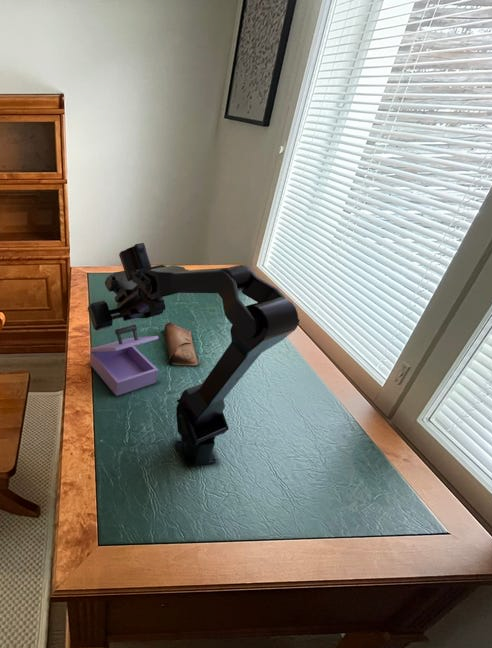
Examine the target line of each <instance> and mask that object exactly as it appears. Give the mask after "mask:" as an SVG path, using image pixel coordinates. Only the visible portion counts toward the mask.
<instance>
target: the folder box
mask: <svg viewBox="0 0 492 648" xmlns="http://www.w3.org/2000/svg"><path fill="white" fill-rule="evenodd" d="M89 365H90V366H91V367H92V368H93V370H94V371H95V372H96V374H97V375H98V376H99V377H100V378H101V379H102V381H103V382H104V383H105V385H106V386H107V387H108V388H109V389H110V390H111V392H112V393H113V394H114V395H115V396H116V397H117V396H121V395H124V394H127V393H129V392H132V391H136V390H138V389H142V388H144V387H147V386H151V385H153V384H156V383H157V382H158V375H159V369H158V367H156V366H155V365H154V363H152V362H151V361H150V360H149V359H148V358H147V357H146V356H145V355H144V354H143V353H142V352H140V350H138V349H137V347H135V346H132V347H128V348H125V349H121V350H117V351H92V352H91V351H89Z"/></svg>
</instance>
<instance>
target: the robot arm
mask: <svg viewBox="0 0 492 648" xmlns="http://www.w3.org/2000/svg"><path fill="white" fill-rule="evenodd" d="M118 257H119V260H120V262H121V265H122V268H123V270H121V271H115V272H113V273H112V274H109V276H107V277H106V279H105V281H104V286H105V288H106V289H107V291H108V292H109V293H111V292H113V293H114V294H115V296H114V297H113V298H114V302H115V303H117V306H116V308H112V309H110V307H109V305H108V302H106V300H99V301H95V302H91V303H90V304H89V305H87V312H88V315H89V318H90V321H91V324H92V328H93V330H95V331H101V330H105V329H109V328H111V327H113V324H114V323H113V321H114V320H118V319H123V322H126V321H131V320H134V319H148V318H153V317H156V316H161V314H163V313H164V311H165V310H166V306H167V305H166V302H165V301H166V300H165V299H164V298H165V297H169V296H173V295H177V294H218V295H219V297H220V298H221V300H222V307H223V313H224V316H225V318H226V319H227V320H228V321H229V323H231V327H230V330H229V331H230V338H231V342H230V343H229V345H228V346H227V347H226V349H225V351H224V352H223V354H222V355H221V356H220V358H219V359H218V361H217V362H216V364H215V365H214V367H213V368H212V370H210V372H209V374H208V375H207V377H206V378H205V379H204V381H202V383H200V384H197V385H194V386H191V387H189V388H186V389H184V390H183V392H181V395H180V398H179V399H177V400H176V402H177V405H176V410H175V411H176V414H175V415H176V427H177V428H176V429H177V433H178V434H179V435H180V440H177V441H176V447H177V449H178V450H179V453H180V456H181V457H182V459H183V462H184V464H185V466H186V467H188V468H189V467H196V466H202V465H211V464H216V462H217V459H216V457H215V455H214V453H213V451H214V447H215V444H216V442H215V440H216V437H219V436H220V435H224V434H225V433H227V432H228V431H229V425H228V422H227V419H226V416H225V414H224V410H225V407H226V404H225V398H226V397H227V396H228V395H229V394H230V392H231V391H232V390H233V389H234V387H235V386H236V385H237V384H238V382H239V381H240V380H241V379H242V378H243V376H244V375H245V374H246V373H247V372H248V370H249V369H250V368H251V367H252V365H253V364H254V363H255V362H256V361H257V359H259V357H260V355H261V354H263V353H264V352H266V351H268V350H269V349H270V348H272V347H274V346H276V345H277V344H279V343H281V342H282V341H283V340H284V339H286V338H287V337H288V336H290V335H291V334H292V333H293V332H295V331H296V330H297V328H298V327H299V324H300V318H299V313H298V310H297V308H296V306H295V304H294V303H293V301H291V300H289V299H288V298H286V296H284V294H283V293H282V292H281V291H280V289H279V288H278V287H276V286H274V285H273V284H270V283H269V282H267V281H265V280H263V279H262V278H260V277H258V276H257V275H256V274H255V273H254V271H252V269H251V268H249V267H248V266H246V265H243V264H238V265H233V266H229V267H218V268H217V267H216V268H202V269H186V268H185V267H184V266H179V265H175V264H171V265H165V264H158V265H153V266H152V264H151V261H150V258H149V256H148V253H147V248H146V245H145V243H144V242H139V243H135V244H134V245H133V246H131V247H128V248H125V249H124V250H121V251H120V252H119V253H118ZM239 292H241V293H242V294H243V295H244V296H245V297H248V298H249V299H251V300H253V301H254V303H252V304H247V305H245V304H244V303H243V302H242V300H241V299H240V295H239Z"/></svg>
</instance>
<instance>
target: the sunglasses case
mask: <svg viewBox="0 0 492 648" xmlns="http://www.w3.org/2000/svg"><path fill="white" fill-rule="evenodd" d="M164 335H165V340H166V346H167V353H168V361H169V363H170V364H171V365H173V366H181V367H186V366H187V367H192V366H193V367H194V366H198V365H199V361H198V357H197V354H196V350H195V347H194V342H193V337H192V332H191V331H190V330H187V329H185V328H183V327H180V326H178V325H175V324H174V323H173V322H170V321H168V322H167V323H166V324H165V325H164Z"/></svg>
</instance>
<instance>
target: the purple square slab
mask: <svg viewBox="0 0 492 648" xmlns="http://www.w3.org/2000/svg"><path fill="white" fill-rule="evenodd" d="M137 329H138V327H137V325H136V324H132V325H128V326H125V327H120V328H117V329H115V330H114V334H115V335H116V337H117V341H113V342H110V343H105V344H102V345H99V346H94V347H91V348H89V352H92V351H117V350H121V349H125V348H128V347H132V346H134V347H135V346H138V345H142V344H146V343H149V342H153V341H156V340H159V339H160V338H159V335H152V336H151V335H150V336H149V335H148V336H138V333H137V332H138V331H137ZM131 332H132V335H133V337H129V338H124V339H122V335H124V334H127V333H131Z"/></svg>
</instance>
